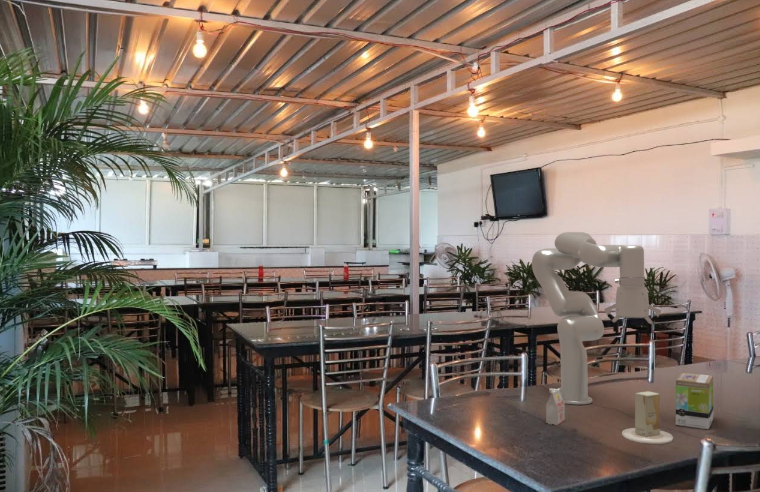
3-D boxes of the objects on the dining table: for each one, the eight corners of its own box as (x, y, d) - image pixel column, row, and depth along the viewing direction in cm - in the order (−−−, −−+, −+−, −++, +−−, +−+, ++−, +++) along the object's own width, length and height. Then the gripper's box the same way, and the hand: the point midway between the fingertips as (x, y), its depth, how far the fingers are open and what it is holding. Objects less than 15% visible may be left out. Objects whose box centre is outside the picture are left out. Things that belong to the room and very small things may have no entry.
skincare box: (647, 437, 184) (646, 395, 184) (634, 433, 187) (633, 393, 188) (661, 434, 187) (660, 393, 187) (648, 430, 191) (648, 390, 191)
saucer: (620, 440, 184) (619, 437, 184) (624, 428, 196) (624, 425, 196) (672, 446, 178) (672, 443, 178) (673, 433, 190) (673, 430, 190)
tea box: (710, 430, 194) (709, 382, 194) (674, 425, 199) (674, 379, 199) (714, 419, 207) (713, 374, 207) (680, 415, 212) (680, 371, 212)
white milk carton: (546, 423, 203) (545, 392, 203) (554, 419, 209) (553, 389, 209) (557, 425, 201) (556, 394, 201) (564, 420, 206) (564, 390, 206)
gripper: (602, 283, 206) (603, 334, 206) (660, 283, 199) (660, 337, 198) (605, 281, 213) (606, 332, 213) (661, 282, 205) (661, 334, 205)
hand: (632, 334), depth 206 cm, fingers open, 9 cm apart
